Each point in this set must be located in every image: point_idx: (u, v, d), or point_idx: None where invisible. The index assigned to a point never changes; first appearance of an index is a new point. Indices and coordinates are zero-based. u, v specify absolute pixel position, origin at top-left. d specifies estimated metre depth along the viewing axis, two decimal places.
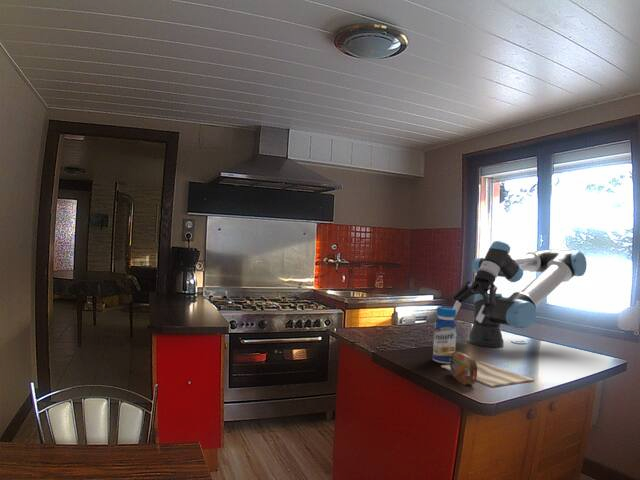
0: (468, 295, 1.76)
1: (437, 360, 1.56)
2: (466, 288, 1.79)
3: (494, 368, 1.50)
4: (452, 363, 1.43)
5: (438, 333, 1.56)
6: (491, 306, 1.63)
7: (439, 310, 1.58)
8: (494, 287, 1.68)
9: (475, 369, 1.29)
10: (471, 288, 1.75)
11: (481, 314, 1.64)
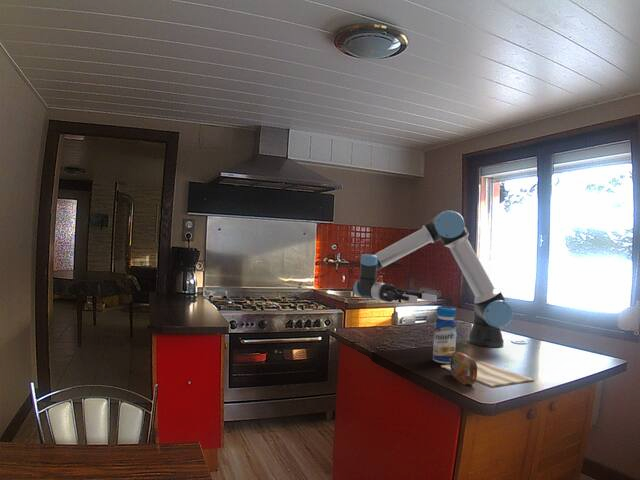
0: (410, 294, 1.77)
1: (437, 360, 1.56)
2: None
3: (494, 368, 1.50)
4: (452, 363, 1.43)
5: (438, 333, 1.56)
6: (397, 297, 1.66)
7: (439, 310, 1.58)
8: (384, 295, 1.73)
9: (475, 369, 1.29)
10: None
11: (410, 300, 1.64)
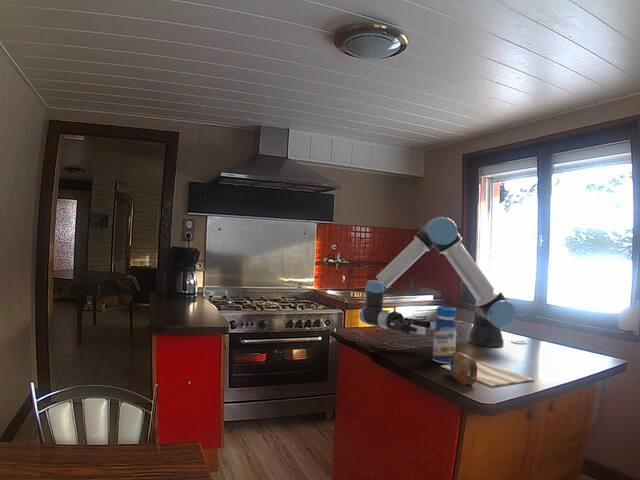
0: (418, 323, 1.73)
1: (437, 360, 1.56)
2: None
3: (494, 368, 1.50)
4: (452, 363, 1.43)
5: (438, 333, 1.56)
6: (405, 328, 1.61)
7: (439, 310, 1.58)
8: (392, 324, 1.69)
9: (475, 369, 1.29)
10: None
11: (418, 331, 1.59)
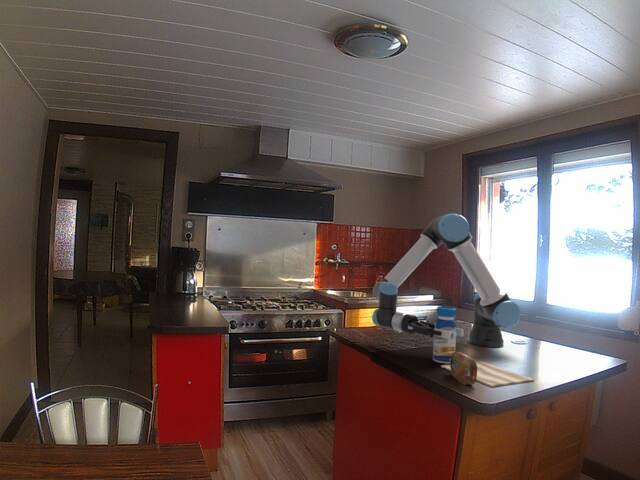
0: (434, 326, 1.66)
1: (437, 360, 1.56)
2: None
3: (494, 368, 1.50)
4: (452, 363, 1.43)
5: None
6: (429, 332, 1.56)
7: (439, 310, 1.58)
8: (410, 328, 1.63)
9: (475, 369, 1.29)
10: None
11: (442, 335, 1.54)
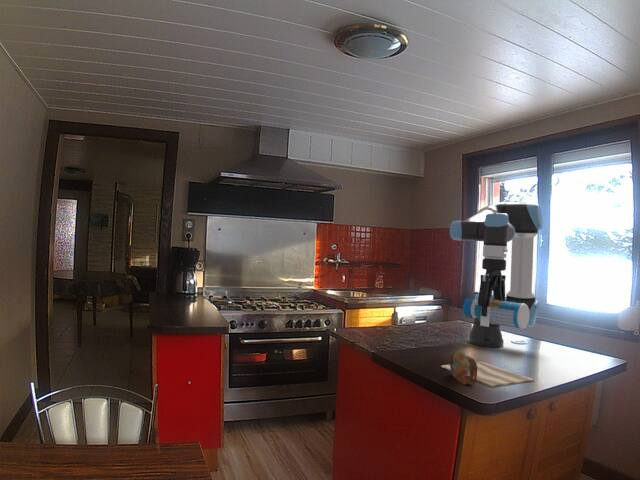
0: None
1: None
2: None
3: (494, 368, 1.50)
4: (452, 363, 1.43)
5: None
6: None
7: None
8: None
9: (475, 369, 1.29)
10: (495, 284, 1.42)
11: None
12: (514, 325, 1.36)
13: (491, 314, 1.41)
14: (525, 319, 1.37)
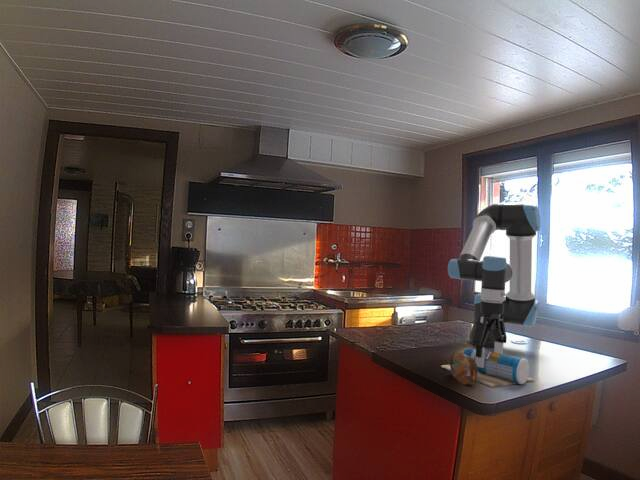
0: None
1: None
2: None
3: None
4: (452, 363, 1.43)
5: None
6: None
7: None
8: None
9: (475, 369, 1.29)
10: (492, 327, 1.42)
11: None
12: (513, 381, 1.36)
13: (490, 368, 1.40)
14: (525, 374, 1.36)
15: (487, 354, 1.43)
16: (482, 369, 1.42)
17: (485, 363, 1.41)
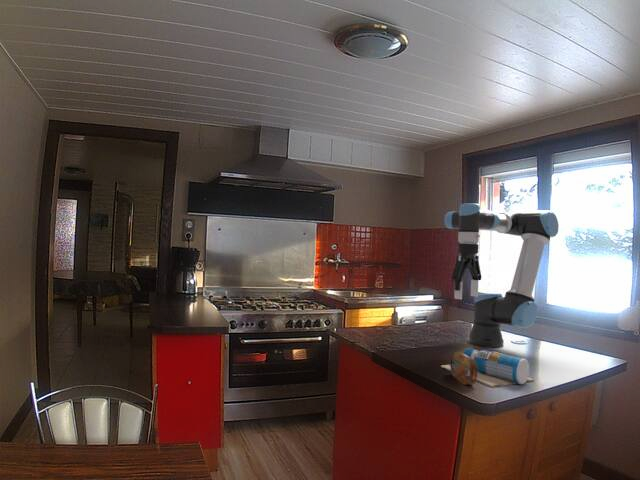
0: None
1: None
2: None
3: None
4: (452, 363, 1.43)
5: None
6: None
7: None
8: None
9: (475, 369, 1.29)
10: (468, 265, 1.62)
11: None
12: (513, 381, 1.36)
13: (490, 368, 1.40)
14: (525, 374, 1.36)
15: (487, 354, 1.43)
16: (482, 369, 1.42)
17: (485, 363, 1.41)
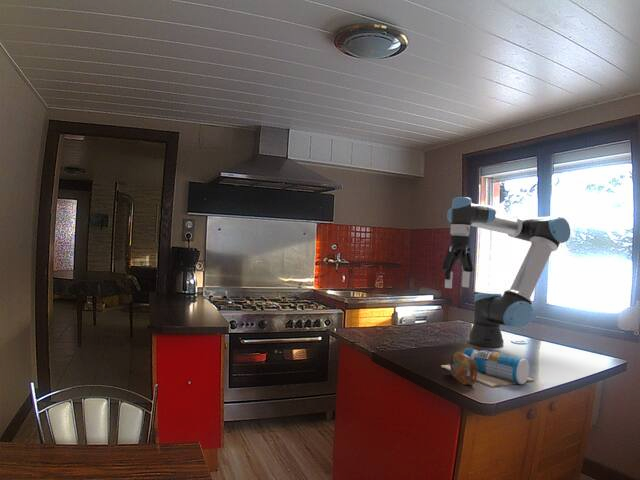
0: None
1: None
2: None
3: None
4: (452, 363, 1.43)
5: None
6: None
7: None
8: None
9: (475, 369, 1.29)
10: (459, 256, 1.70)
11: None
12: (513, 381, 1.36)
13: (490, 368, 1.40)
14: (525, 374, 1.36)
15: (487, 354, 1.43)
16: (482, 369, 1.42)
17: (485, 363, 1.41)
